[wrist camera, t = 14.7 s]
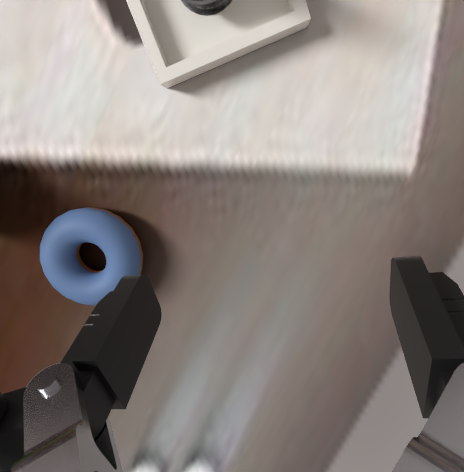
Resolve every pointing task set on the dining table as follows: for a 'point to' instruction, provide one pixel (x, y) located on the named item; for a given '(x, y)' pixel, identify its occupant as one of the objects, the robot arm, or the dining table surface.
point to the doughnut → (69, 261)
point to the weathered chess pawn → (206, 6)
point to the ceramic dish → (211, 33)
